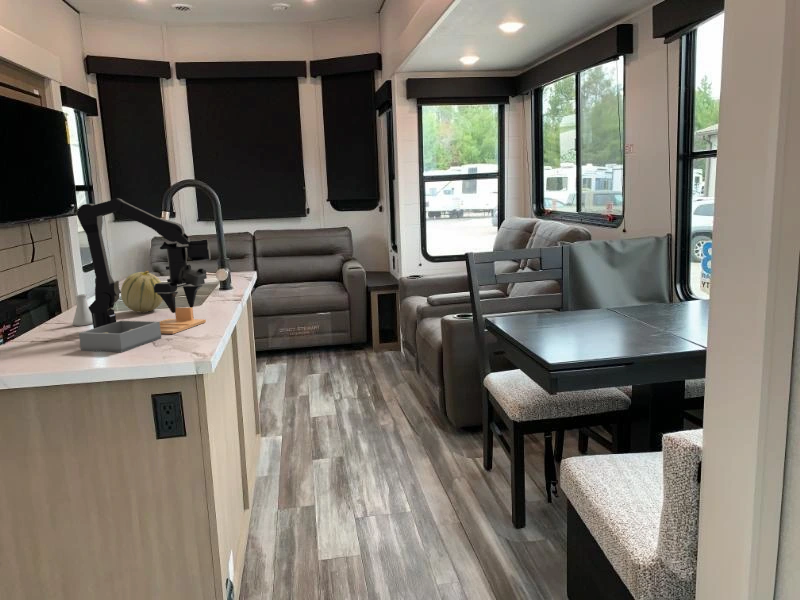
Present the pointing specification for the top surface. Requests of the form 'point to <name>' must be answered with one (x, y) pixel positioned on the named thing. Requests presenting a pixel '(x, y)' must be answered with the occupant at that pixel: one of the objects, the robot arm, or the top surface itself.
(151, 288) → the cantaloupe
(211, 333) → the top surface
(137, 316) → the top surface
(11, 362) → the top surface
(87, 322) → the flask
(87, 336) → the tub
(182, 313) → the lid
